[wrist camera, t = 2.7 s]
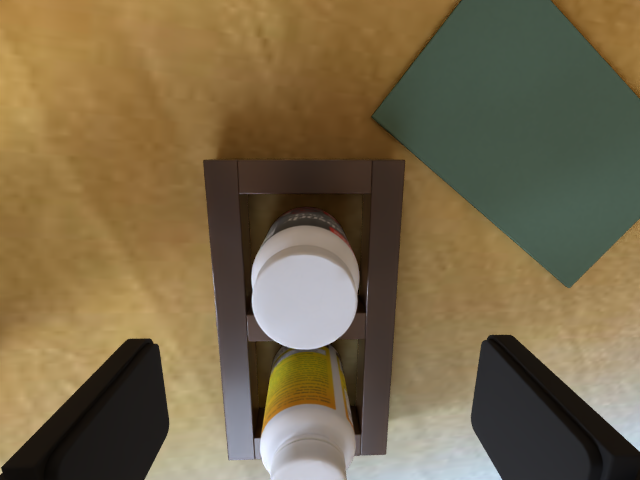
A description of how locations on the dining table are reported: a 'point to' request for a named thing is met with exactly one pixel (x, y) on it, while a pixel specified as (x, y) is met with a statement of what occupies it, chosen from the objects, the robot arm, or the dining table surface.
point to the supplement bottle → (307, 417)
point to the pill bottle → (305, 280)
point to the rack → (236, 288)
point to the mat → (525, 129)
